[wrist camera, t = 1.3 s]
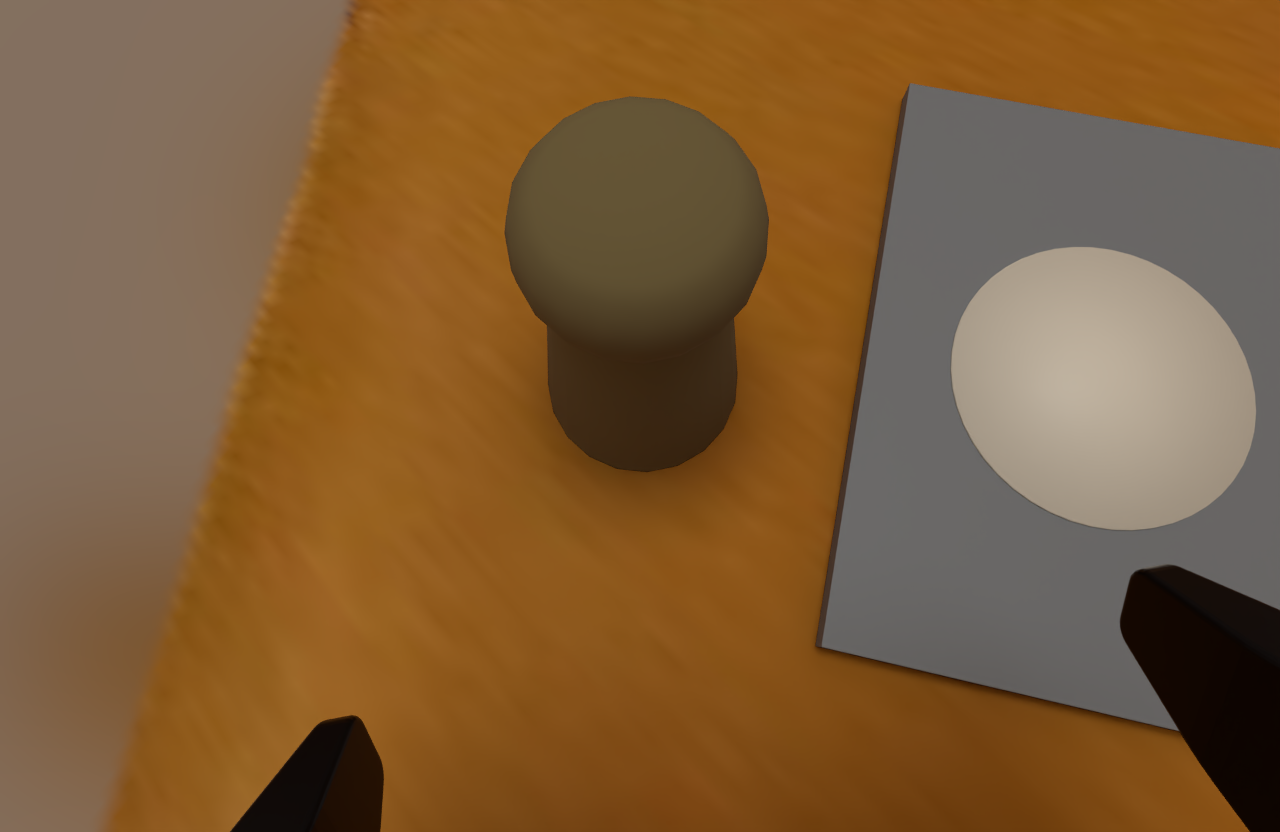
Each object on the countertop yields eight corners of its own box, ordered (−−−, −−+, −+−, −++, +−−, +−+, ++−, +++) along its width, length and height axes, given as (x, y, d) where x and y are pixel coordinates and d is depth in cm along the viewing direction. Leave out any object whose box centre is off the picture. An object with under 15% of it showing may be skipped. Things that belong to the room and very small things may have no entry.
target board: (1322, 765, 21) (1350, 771, 20) (815, 645, 22) (822, 646, 21) (1314, 172, 25) (1337, 156, 25) (902, 99, 26) (911, 81, 26)
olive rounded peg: (616, 260, 25) (589, -8, 14) (772, 352, 24) (867, 138, 13) (510, 405, 24) (396, 229, 13) (671, 509, 23) (688, 409, 12)
